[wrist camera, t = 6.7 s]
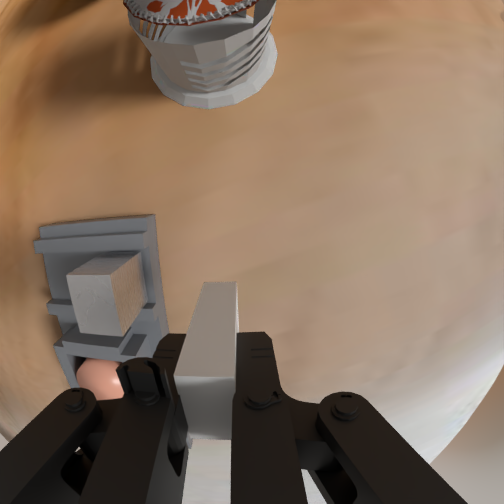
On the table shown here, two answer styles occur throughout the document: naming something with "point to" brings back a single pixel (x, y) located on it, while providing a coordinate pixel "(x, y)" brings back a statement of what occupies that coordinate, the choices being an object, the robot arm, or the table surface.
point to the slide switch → (108, 292)
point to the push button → (100, 378)
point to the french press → (207, 48)
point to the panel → (80, 252)
